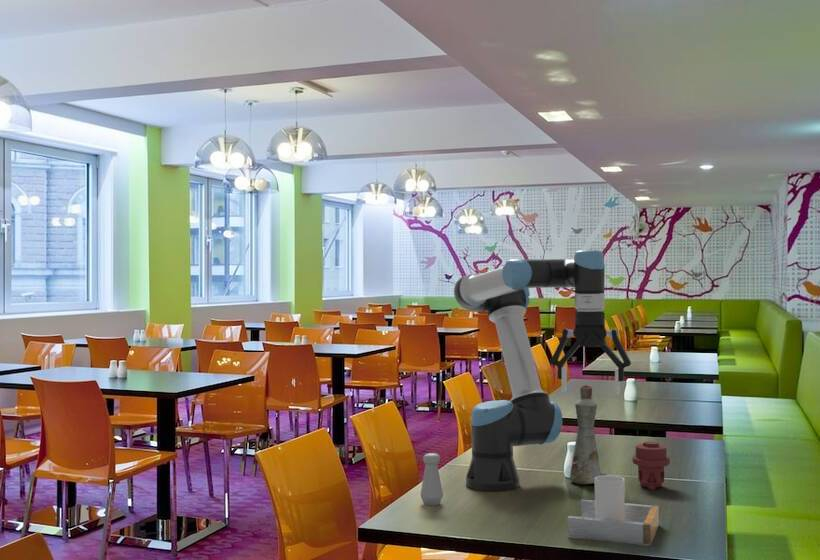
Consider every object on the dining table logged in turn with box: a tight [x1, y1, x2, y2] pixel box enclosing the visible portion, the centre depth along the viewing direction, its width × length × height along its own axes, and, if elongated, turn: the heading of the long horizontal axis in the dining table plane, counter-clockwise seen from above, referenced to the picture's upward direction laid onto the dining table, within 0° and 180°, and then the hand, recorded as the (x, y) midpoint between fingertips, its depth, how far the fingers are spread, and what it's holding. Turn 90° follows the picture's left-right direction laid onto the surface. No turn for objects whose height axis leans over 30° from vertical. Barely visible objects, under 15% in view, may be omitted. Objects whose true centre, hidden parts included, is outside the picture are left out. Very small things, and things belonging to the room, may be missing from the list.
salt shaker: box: [420, 452, 444, 507], centre depth 224 cm, size 6×6×13 cm
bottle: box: [569, 384, 602, 486], centre depth 246 cm, size 9×9×28 cm
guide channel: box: [567, 499, 660, 547], centre depth 198 cm, size 18×17×4 cm
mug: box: [594, 474, 626, 521], centre depth 199 cm, size 10×7×12 cm, turn 168°
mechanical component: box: [632, 440, 671, 491], centre depth 240 cm, size 12×10×10 cm
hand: (590, 393), depth 222 cm, fingers open, 13 cm apart
